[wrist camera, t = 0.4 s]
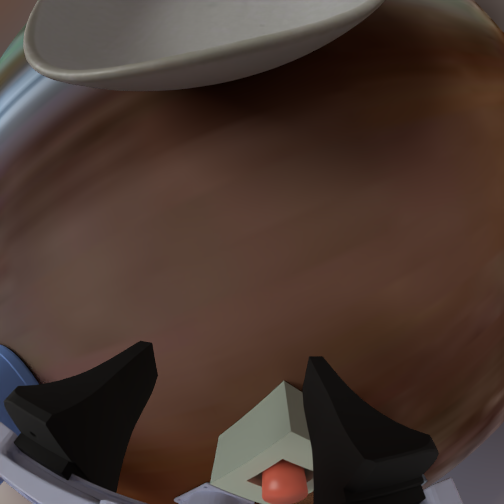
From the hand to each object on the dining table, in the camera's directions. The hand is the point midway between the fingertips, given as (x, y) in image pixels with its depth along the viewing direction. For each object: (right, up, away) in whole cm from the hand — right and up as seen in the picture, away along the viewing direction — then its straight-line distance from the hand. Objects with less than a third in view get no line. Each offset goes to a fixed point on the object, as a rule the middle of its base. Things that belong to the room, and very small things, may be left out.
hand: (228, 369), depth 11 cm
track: (+12, -19, +12) cm, 26 cm away
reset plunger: (+4, -13, +7) cm, 15 cm away
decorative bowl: (-3, +27, +8) cm, 29 cm away
